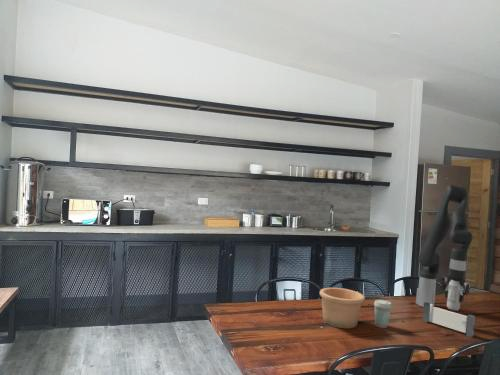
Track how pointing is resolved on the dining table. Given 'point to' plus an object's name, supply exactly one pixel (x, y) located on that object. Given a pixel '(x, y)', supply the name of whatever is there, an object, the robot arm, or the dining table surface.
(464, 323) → the gate leaf
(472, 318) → the gate frame
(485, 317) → the dining table surface
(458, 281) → the robot arm
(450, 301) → the energy drink can
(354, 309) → the pottery
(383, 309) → the coffee cup
